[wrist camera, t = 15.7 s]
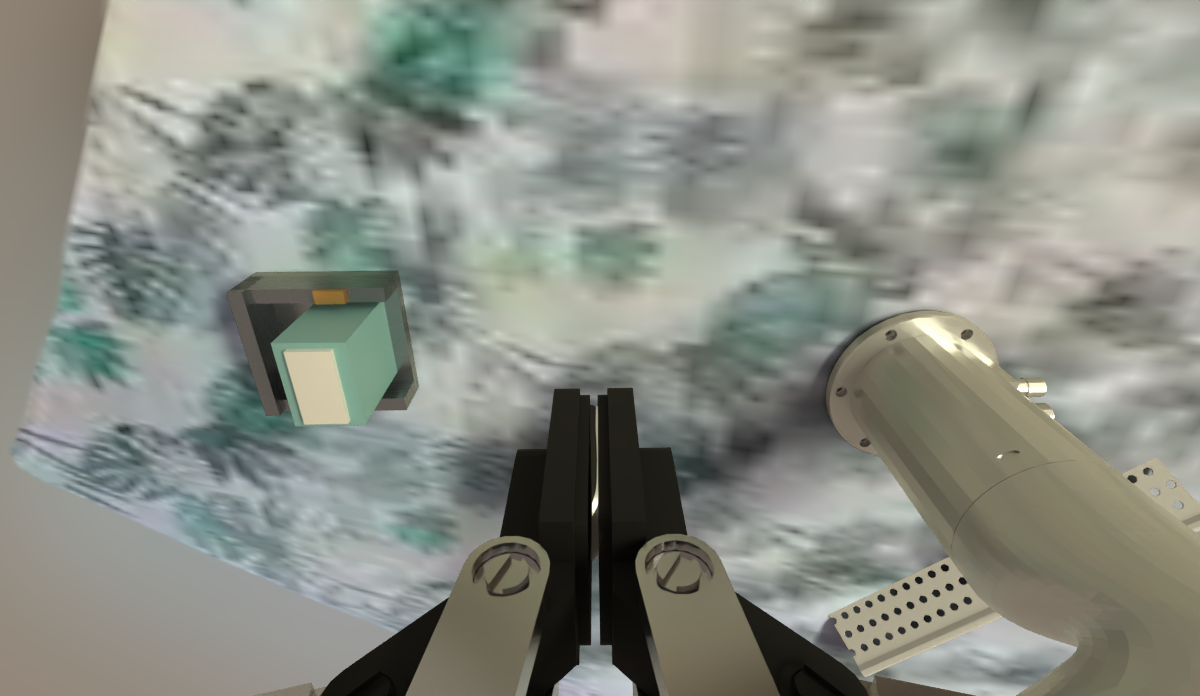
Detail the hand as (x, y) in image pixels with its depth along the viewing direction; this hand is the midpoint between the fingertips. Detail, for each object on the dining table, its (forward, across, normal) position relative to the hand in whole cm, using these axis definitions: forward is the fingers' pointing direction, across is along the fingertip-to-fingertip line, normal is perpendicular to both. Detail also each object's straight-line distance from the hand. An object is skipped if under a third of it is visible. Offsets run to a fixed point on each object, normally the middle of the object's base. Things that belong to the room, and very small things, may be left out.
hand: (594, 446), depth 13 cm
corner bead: (+30, -37, +36) cm, 60 cm away
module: (+28, +17, +11) cm, 35 cm away
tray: (+29, +19, +11) cm, 36 cm away
